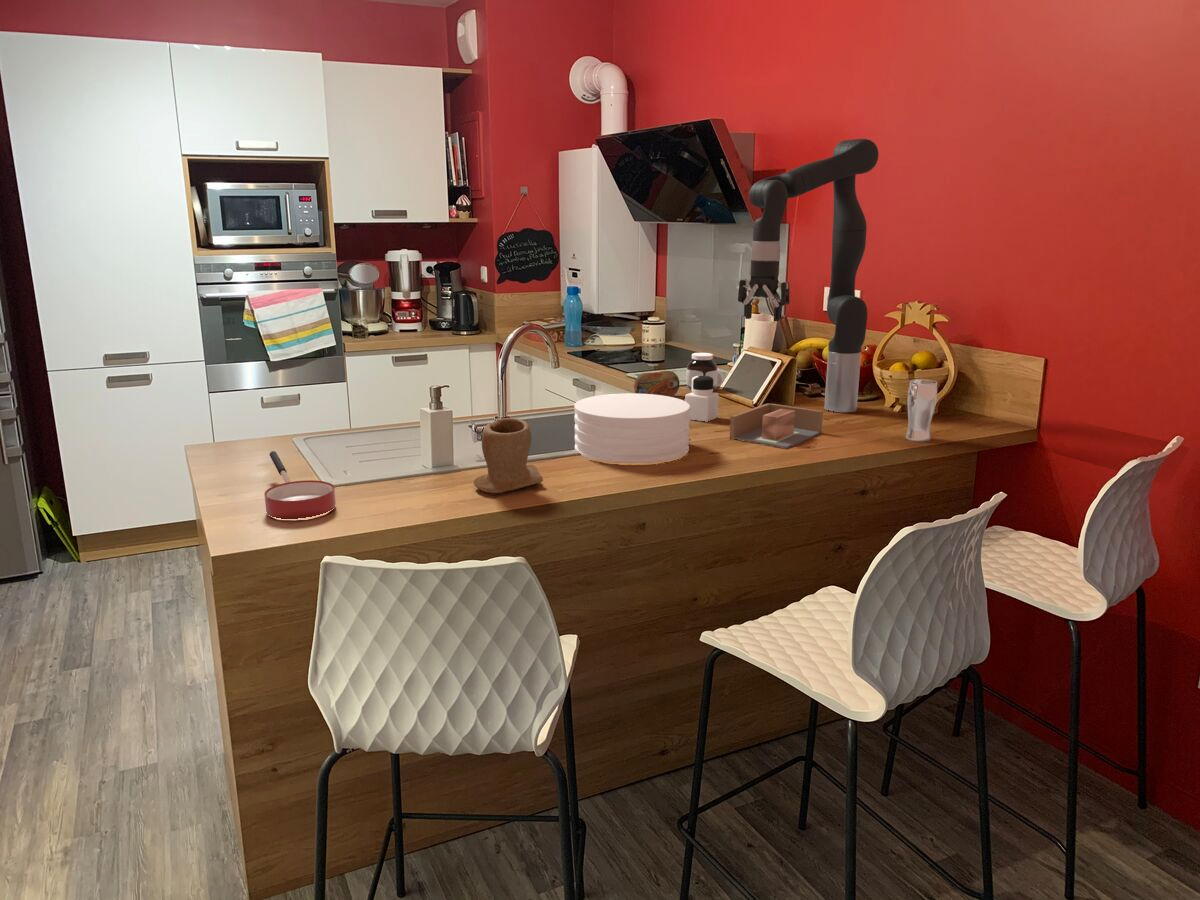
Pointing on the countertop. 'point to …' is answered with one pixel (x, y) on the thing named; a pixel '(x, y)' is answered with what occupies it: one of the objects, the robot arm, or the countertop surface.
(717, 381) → the spread jar
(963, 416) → the countertop surface
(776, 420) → the block
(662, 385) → the tin
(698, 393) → the medicine bottle
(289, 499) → the frying pan
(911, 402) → the beer glass
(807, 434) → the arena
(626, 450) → the plate stack
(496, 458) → the stone cup
